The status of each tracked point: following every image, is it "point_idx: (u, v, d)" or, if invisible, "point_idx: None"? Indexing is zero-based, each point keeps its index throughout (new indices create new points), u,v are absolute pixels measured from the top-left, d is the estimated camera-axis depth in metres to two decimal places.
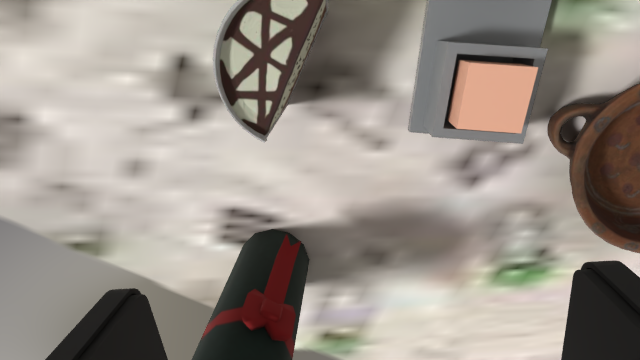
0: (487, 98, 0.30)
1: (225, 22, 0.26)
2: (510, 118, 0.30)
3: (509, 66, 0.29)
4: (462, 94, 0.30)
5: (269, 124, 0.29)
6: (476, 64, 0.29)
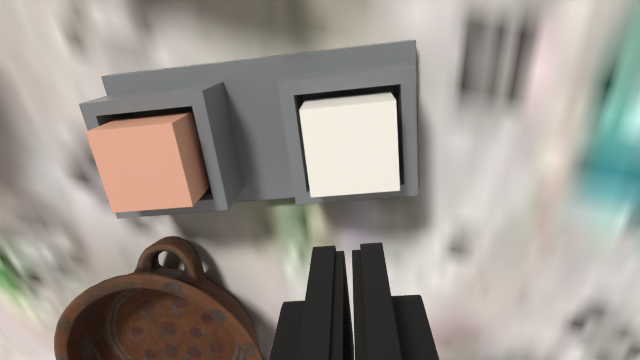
0: (138, 159, 0.22)
1: None
2: (124, 194, 0.23)
3: (183, 173, 0.22)
4: (132, 126, 0.21)
5: None
6: (172, 132, 0.21)
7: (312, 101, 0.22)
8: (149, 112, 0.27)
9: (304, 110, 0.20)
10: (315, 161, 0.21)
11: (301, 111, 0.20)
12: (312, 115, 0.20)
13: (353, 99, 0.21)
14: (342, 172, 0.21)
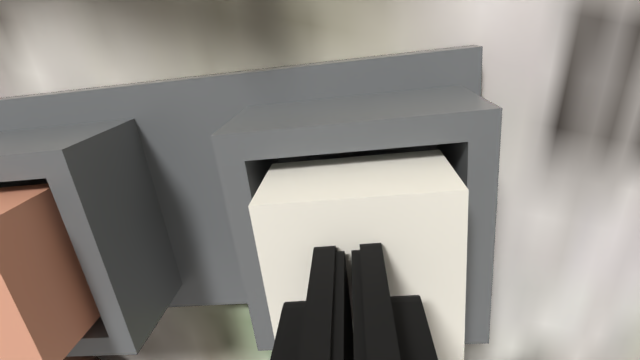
0: None
1: None
2: None
3: (20, 319, 0.11)
4: None
5: None
6: None
7: (284, 170, 0.11)
8: None
9: (259, 206, 0.09)
10: None
11: (253, 208, 0.09)
12: (277, 217, 0.09)
13: (367, 172, 0.10)
14: None
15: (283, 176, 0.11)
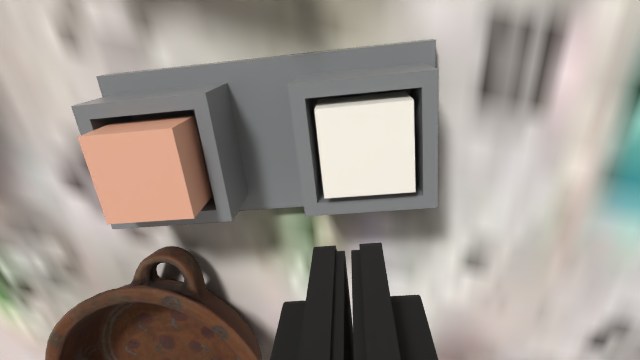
0: (134, 167, 0.20)
1: None
2: (120, 205, 0.21)
3: (184, 183, 0.20)
4: (129, 131, 0.20)
5: None
6: (172, 138, 0.19)
7: (326, 100, 0.22)
8: (148, 115, 0.25)
9: (319, 109, 0.20)
10: (329, 161, 0.21)
11: (316, 110, 0.20)
12: (327, 115, 0.20)
13: (368, 98, 0.21)
14: (357, 173, 0.21)
15: (326, 102, 0.21)
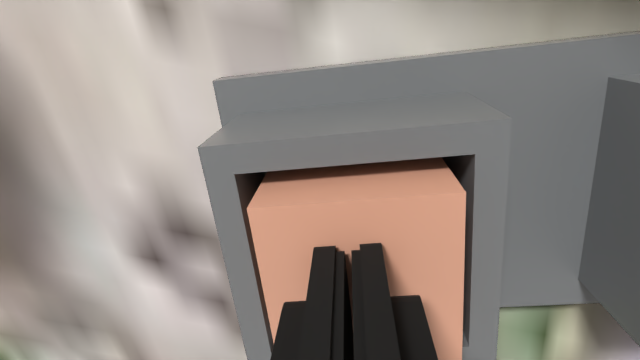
0: None
1: None
2: None
3: (460, 300, 0.10)
4: (359, 196, 0.09)
5: None
6: (461, 213, 0.09)
7: None
8: None
9: None
10: None
11: None
12: None
13: None
14: None
15: None
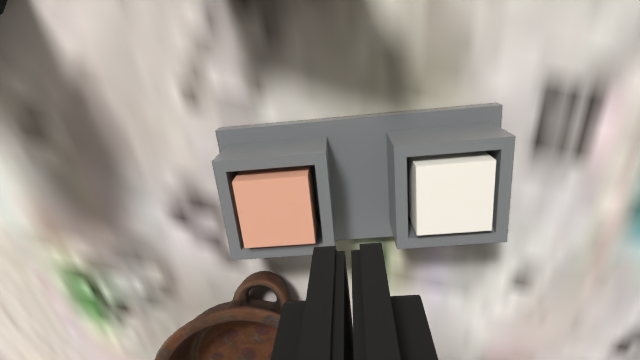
0: (273, 205, 0.26)
1: None
2: (257, 233, 0.27)
3: (311, 216, 0.26)
4: (272, 177, 0.26)
5: None
6: (307, 183, 0.25)
7: None
8: None
9: (420, 166, 0.25)
10: (424, 206, 0.26)
11: (417, 167, 0.25)
12: (426, 171, 0.25)
13: (454, 155, 0.26)
14: (445, 215, 0.26)
15: (419, 157, 0.26)
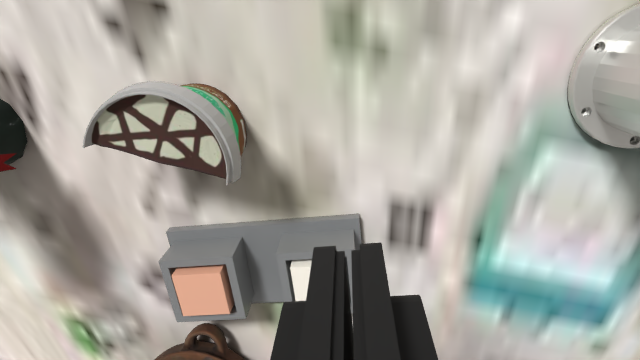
0: (199, 290, 0.39)
1: (176, 101, 0.28)
2: (190, 307, 0.40)
3: (225, 297, 0.39)
4: (197, 272, 0.39)
5: (104, 146, 0.30)
6: (220, 277, 0.38)
7: None
8: None
9: (293, 267, 0.38)
10: (299, 291, 0.38)
11: (291, 268, 0.38)
12: (297, 270, 0.38)
13: None
14: None
15: None
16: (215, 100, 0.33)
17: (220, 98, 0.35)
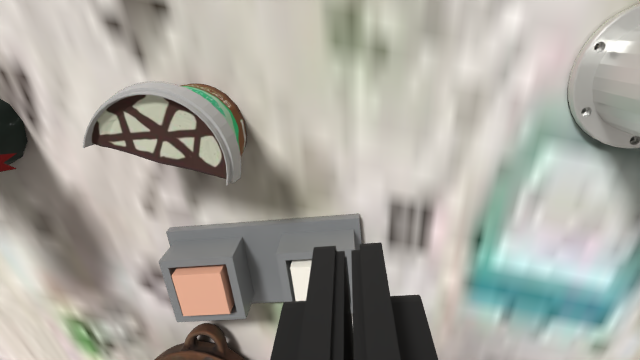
0: (200, 290, 0.39)
1: (176, 101, 0.28)
2: (191, 307, 0.40)
3: (225, 297, 0.39)
4: (197, 272, 0.39)
5: (104, 146, 0.30)
6: (220, 277, 0.38)
7: None
8: None
9: (293, 268, 0.38)
10: (299, 292, 0.38)
11: (291, 268, 0.38)
12: (297, 270, 0.38)
13: None
14: None
15: None
16: (215, 100, 0.33)
17: (220, 98, 0.35)
